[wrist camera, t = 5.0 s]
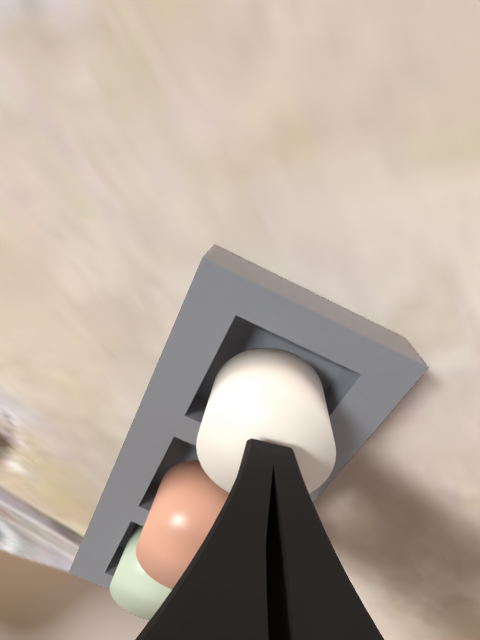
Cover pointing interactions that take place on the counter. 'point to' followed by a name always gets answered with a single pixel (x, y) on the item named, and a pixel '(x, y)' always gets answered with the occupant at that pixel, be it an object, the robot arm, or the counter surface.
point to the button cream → (266, 415)
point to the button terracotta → (178, 521)
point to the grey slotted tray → (205, 362)
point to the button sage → (136, 583)
